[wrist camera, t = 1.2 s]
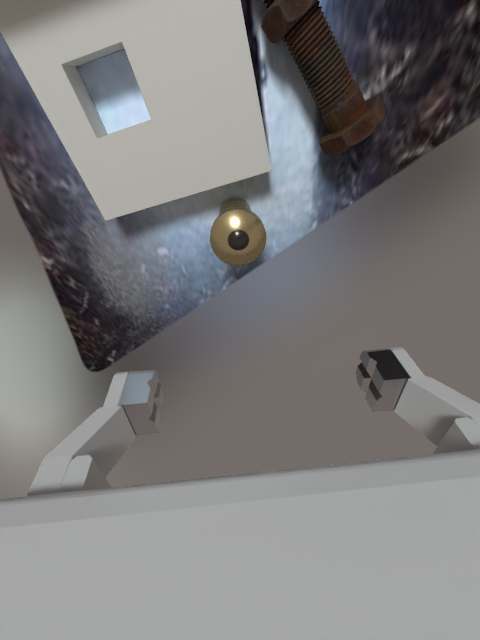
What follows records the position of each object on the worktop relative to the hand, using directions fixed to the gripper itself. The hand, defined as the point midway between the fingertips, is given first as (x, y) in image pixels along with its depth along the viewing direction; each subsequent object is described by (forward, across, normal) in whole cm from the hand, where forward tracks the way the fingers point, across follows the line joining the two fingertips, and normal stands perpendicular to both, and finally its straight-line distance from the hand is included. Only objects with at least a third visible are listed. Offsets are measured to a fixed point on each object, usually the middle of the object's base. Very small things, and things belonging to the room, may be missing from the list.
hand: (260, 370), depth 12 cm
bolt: (+25, -8, -12) cm, 29 cm away
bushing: (+25, -1, +2) cm, 25 cm away
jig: (+25, +6, -10) cm, 28 cm away
